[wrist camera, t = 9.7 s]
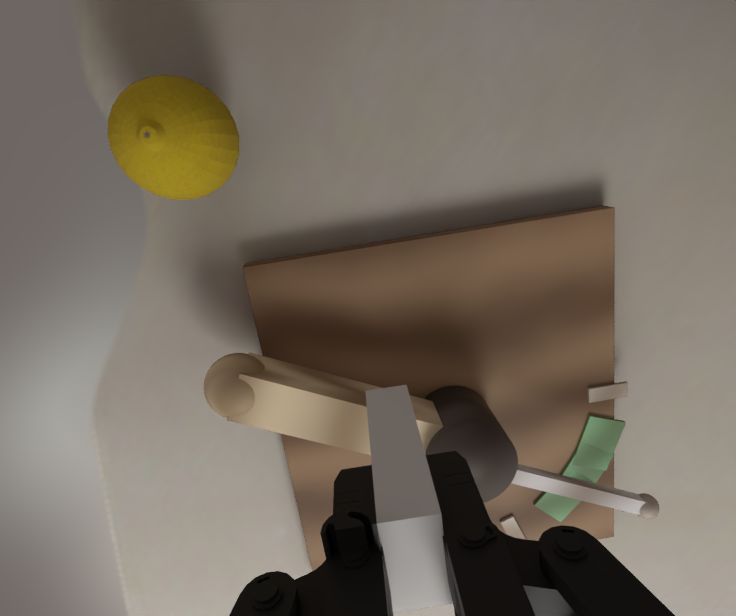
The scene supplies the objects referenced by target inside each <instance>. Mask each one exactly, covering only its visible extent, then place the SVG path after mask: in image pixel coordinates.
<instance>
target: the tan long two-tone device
mask: <svg viewBox="0 0 736 616" xmlns="http://www.w3.org/2000/svg"><path fill="white" fill-rule="evenodd" d="M375 389H381V387H377V386H374V385H370V384H366V383H362V382H359V381H355V380H351V379H347V378H344V377H340V376H336V375H332V374H329V373H325V372H321V371H317V370H314V369H310V368H306V367H302V366H299V365H295V364H291V363H287V362H284V361H280V360H276V359H272V358H269V357H265V356H261V355H258V354H254V353H250V352H249V354H244V353H234V354H229V355H226V356H224V357H222V358H220V359H219V360H217V361H216V362H215V363H214V364H213V365H212V366H211V368H210V369H209V370H208V372H207V374H206V377H205V381H204V394H205V398H206V400H207V402H208V404H209V405H210V407H211V408H212V409H213V410H214V411H215V412H216V413H218V414H219V415H221V416H223V417H226V418H227V420H228V421H232V422H236V423H240V424H244V425H248V426H252V427H257V428H261V429H265V430H269V431H273V432H277V433H281V434H285V435H289V436H294V437H298V438H302V439H306V440H310V441H314V442H318V443H322V444H326V445H331V446H335V447H339V448H343V449H347V450H351V451H355V452H359V453H364V454H368V455H371V451H370V439H369V428H368V416H367V405H366V393H365V391H368V390H375ZM409 396H410V399H411V403H412V407H413V410H414V414H415V418H416V422H417V425H418V429H419V433H420V436H421V440H422V444H423V447H424V451H425V455H431V454H437V453H443V452H450V451H457V452H458V453H459V454H460V455H461V456H462V457H464V458H465V459H466V460H467V463H468V465H469V468H470V470H471V474H472V475H473V478H474V480H475V484H476V485H477V488H478V490H479V493H480V495H481V498H482V500H483V503H485V502H488V501H490V500H492V499H494V498H496V497H497V496H499V495H500V494H501V493H503V492H504V491H505V490H506V489H507V488H508V487H509V485H510V484H511V483H512V484H516V485H520V486H524V487H528V488H532V489H536V490H540V491H544V492H548V493H553V494H557V495H561V496H565V497H569V498H573V499H577V500H581V501H585V502H589V503H593V504H597V505H601V506H606V507H610V508H614V509H618V510H622V511H626V512H630V513H634V514H637V515H638V516H640V517H642V518H645V519H652V518H654V517H656V516H657V515H658V513H659V504H658V502H657V500H656V499H655V498H654V497H652V496H651V495H649V494H644V493H643V494H635V493H631V492H628V491H624V490H620V489H616V488H612V487H608V486H604V485H600V484H596V483H592V482H588V481H584V480H580V479H576V478H572V477H568V476H564V475H560V474H556V473H552V472H548V471H544V470H541V469H537V468H533V467H529V466H525V465H521V464H518V456H517V452H516V449H515V447H514V445H513V443H512V442H511V440H510V439H509V437H508V436H507V434H506V432H505V431H504V429H503V428H502V426H501V425H500V423H499V422H498V420H497V419H496V417H495V416H494V414H493V412H492V411H491V409H490V408H489V406H488V405H487V403H486V402H485V400H484V399H483V398H482V396H481V395H480V394H478V393H477V392H476V391H474V390H472V389H470V388H467V387H464V386H456V385H455V386H446V387H442V388H439V389H437V390H435V391H433V392H431V393H430V394H429V395H427V396H426V397H425V398H424V399H422V398H418V397H415V396H411V395H409Z"/></svg>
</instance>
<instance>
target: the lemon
mask: <svg viewBox="0 0 736 616" xmlns="http://www.w3.org/2000/svg"><path fill="white" fill-rule="evenodd" d="M108 138H109V143H110V147H111V151H112V153H113V155H114V157H115V159H116V161H117V163H118V164H119V166H120V167H121V168H122V170H123V171H124V172H125V173H126V175H127V176H128V177H129V178H130V179H132V180H133V181H134V182H135V183H137V184H138V185H139V186H140V187H142V188H144V189H146V190H148V191H150V192H152V193H154V194H156V195H158V196H162V197H166V198H171V199H175V200H180V199H195V198H198V197H202V196H206V195H208V194H210V193H212V192H213V191H215V190H217V189H218V188H220V187H221V186H222V185H223V184H224V183H225V182H226V181H227V180H228V178H229V177H230V176H231V174H232V172H233V170H234V168H235V166H236V163H237V159H238V155H239V135H238V131H237V128H236V124H235V121H234V119H233V118H232V116H231V114H230V112H229V110H228V108H227V107H226V106H225V105H224V104H223V102H222V101H221V100H220V99H219V98H218V97H217V95H215V94H214V93H212V92H211V91H210V90H208V89H207V88H205V87H204V86H203V85H201V84H199V83H196V82H194V81H191V80H189V79H187V78H184V77H177V76H170V75H161V76H154V77H147V78H145V79H142V80H140V81H138V82H136V83H133V84H131V85H130V86H129V87H128V88H127V89H125V90H124V91H123V92H122V93H121V94H120V95H119V97H118V98H117V100H116V101H115V103H114V104H113V106H112V109H111V112H110V116H109V119H108Z"/></svg>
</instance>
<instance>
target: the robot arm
mask: <svg viewBox="0 0 736 616" xmlns="http://www.w3.org/2000/svg"><path fill="white" fill-rule="evenodd" d="M365 393H366V405H367V416H368V428H369V439H370V451H371V463H372V465H367V466H361V467H355V468H348V469H342V470H341V471H340V472H339V474H338V476H337V477H336V479H335V481H334V497H333V515H331V516H330V517H329V518H328V519H327V520H326V521H325V522H324V524H323V525H322V529H321V532H320V534H321V538H322V543H323V547H324V552H325V556H326V560H325V561H324V562H323V564H322V565H320V566H319V567H318V568H317V569H316V570H314V571H312V572H310V573H309V574H307V575H304V576H302V577H300V578H298V579H295V580H294V579H293V578H292V577H291V576H289V575H288V574H287V573H283V572H279V571H276V572H268V573H265V574H263V575H260V576H258V577H256V578H255V579H253V580H252V581H251V582H250V583H248V584H247V585H246V587H245V588H244V589H243V591H242V592H241V594H240V595H239V597H238V599H237V601H236V603H235V605H234V607H233V609H232V611H231V613H230V615H229V616H393V613H396V612H402V611H408V610H415V609H421V608H428V607H434V606H441V605H447V604H453V605H454V610H455V616H675V615H674V614H673V613H672V612H671V611H670V610H669V609H668V608H667V607H666V606H665V605H664V604H663V603H662V602H660V601H659V600H658V599H657V598H656V597H655V596H654V595H653V594H652V593H651V592H650V591H649V590H648V589H647V588H646V587H645V586H644V585H643V584H642V583H641V582H640V581H639V580H638V579H637V578H636V577H635V576H634V575H633V574H632V573H631V572H630V571H629V570H628V569H627V568H626V567H625V566H624V565H623V564H622V563H621V562H619V561H618V560H617V559H616V558H615V557H614V556H613V555H612V554H611V553H610V552H609V551H608V550H607V549H606V548H605V547H604V546H603V545H602V544H601V543H600V542H599V541H598V540H597V539H596V538H595V537H593V536H592V535H591V534H589V533H588V532H586V531H585V530H582V529H579V528H577V527H574V526H564V525H561V526H555V527H551V528H549V529H548V530H546V531H544V532H543V533H542V535H541V537H540V538H539V541H535V540H526V539H520V538H515V537H512V536H509V535H507V534H505V533H503V532H502V531H500V530H499V529H498V527H497V526H496V525H495V524H493V523H492V521H491V520H490V518H489V515H488V513H487V510H486V508H485V505H484V503H483V500H482V498H481V495H480V493H479V490H478V488H477V485H476V484H475V480H474V478H473V475H472V474H471V470H470V468H469V465H468V463H467V460H466V459H465V458H464V457H462V456H461V455H460V454H459V453H458V452H457V451H450V452H443V453H437V454H431V455H425V451H424V447H423V444H422V440H421V436H420V433H419V429H418V425H417V422H416V418H415V414H414V410H413V407H412V403H411V399H410V396H409V392H408V388H407V385H400V386H394V387H387V388H381V389H375V390H368V391H365ZM452 601H453V603H452Z"/></svg>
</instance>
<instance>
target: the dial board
mask: <svg viewBox="0 0 736 616" xmlns="http://www.w3.org/2000/svg"><path fill="white" fill-rule="evenodd" d="M243 272H244V276H245V281H246V285H247V289H248V294H249V298H250V302H251V307H252V311H253V315H254V319H255V324H256V328H257V332H258V337H259V341H260V345H261V350H262V354H263V356H265V357H269V358H272V359H276V360H280V361H284V362H287V363H291V364H295V365H299V366H302V367H306V368H310V369H314V370H317V371H321V372H325V373H329V374H332V375H336V376H340V377H344V378H347V379H351V380H355V381H359V382H362V383H366V384H370V385H374V386H377V387H381V388H387V387H394V386H400V385H407V388H408V392H409V395H411V396H415V397H418V398H422V399H424V398H425V397H426V396H427V395H429V394H430V393H431V392H433V391H435V390H437V389H439V388H442V387H446V386H455V385H456V386H464V387H467V388H470V389H472V390H474V391H476V392H477V393H478V394H480V395H481V396H482V398H483V399H484V400H485V402H486V403H487V405H488V406H489V408H490V409H491V411H492V412H493V414H494V416H495V417H496V419H497V420H498V422H499V423H500V425H501V426H502V428H503V429H504V431H505V432H506V434H507V436H508V437H509V439H510V440H511V442H512V443H513V445H514V447H515V449H516V452H517V456H518V464H521V465H525V466H529V467H533V468H537V469H541V470H544V471H548V472H552V473H556V474H560V475H564V476H568V477H572V478H576V479H580V480H584V481H588V482H592V483H596V484H600V485H604V486H608V487H612V488H614V450H615V448H616V445H617V443H618V440H619V438H620V435H621V433H622V430H623V428H624V425H625V423H626V422H625V421H621V420H615V419H614V399H615V398H621V397H627V396H628V383H627V382H626V381H625V382H620V383H614V207H608V206H599V207H593V208H587V209H581V210H575V211H568V212H562V213H556V214H550V215H544V216H537V217H531V218H525V219H519V220H513V221H506V222H500V223H494V224H488V225H482V226H475V227H469V228H463V229H457V230H451V231H444V232H438V233H432V234H426V235H420V236H413V237H407V238H401V239H395V240H389V241H382V242H376V243H370V244H364V245H358V246H351V247H345V248H339V249H333V250H327V251H320V252H314V253H308V254H302V255H296V256H289V257H283V258H277V259H271V260H265V261H258V262H252V263H246V264H245V265H244V266H243ZM281 436H282V440H283V445H284V449H285V453H286V458H287V462H288V466H289V471H290V475H291V479H292V484H293V488H294V492H295V497H296V501H297V505H298V510H299V514H300V518H301V522H302V527H303V531H304V535H305V540H306V544H307V548H308V553H309V557H310V561H311V566H312V570H313V571H314V570H316V569H317V568H318V567H319V566H320V565H322V564H323V562H324V561H325V560H326V556H325V552H324V547H323V543H322V538H321V534H320V532H321V529H322V525H323V524H324V522H325V521H326V520H327V519H328V518H329V517H330V516H331V515H333V497H334V481H335V479H336V477H337V476H338V474H339V472H340V471H341V470H342V469H348V468H355V467H361V466H367V465H372V463H371V455H368V454H364V453H359V452H355V451H351V450H347V449H343V448H339V447H335V446H331V445H326V444H322V443H318V442H314V441H310V440H306V439H302V438H298V437H294V436H289V435H285V434H281ZM484 505H485V508H486V510H487V513H488V515H489V518H490V520H491V521H492V523H493V524H495V525H496V526H497V527H498V529H499V530H500V531H502V532H503V533H505V534H507V535H509V536H512V537H515V538H520V539H526V540H535V541H539V538H540V537H541V535H542V533H543V532H544V531H546V530H548V529H549V528H551V527H555V526H561V525H564V526H574V527H577V528H579V529H582V530H585V531H586V532H588V533H589V534H591V535H592V536H593V537H595V538H596V539H603V538H608V537H614V508H610V507H606V506H601V505H597V504H593V503H589V502H585V501H581V500H577V499H573V498H569V497H565V496H561V495H557V494H553V493H548V492H544V491H540V490H536V489H532V488H528V487H524V486H520V485H516V484H512V483H511V484H510V485H509V487H508V488H507V489H506V490H505V491H504V492H503V493H501V494H500V495H499V496H497V497H496V498H494V499H492V500H490V501H488V502H485V503H484Z"/></svg>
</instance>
